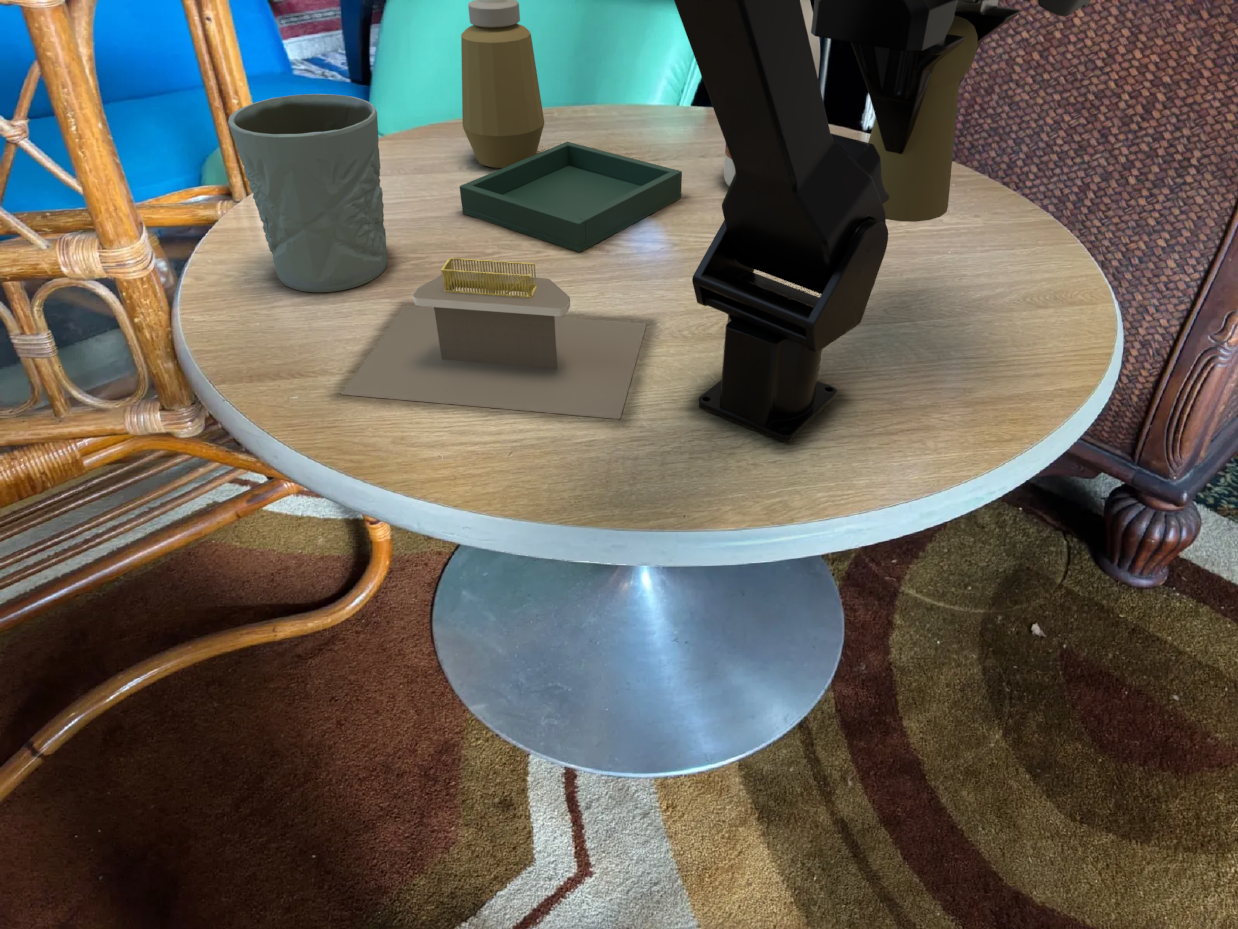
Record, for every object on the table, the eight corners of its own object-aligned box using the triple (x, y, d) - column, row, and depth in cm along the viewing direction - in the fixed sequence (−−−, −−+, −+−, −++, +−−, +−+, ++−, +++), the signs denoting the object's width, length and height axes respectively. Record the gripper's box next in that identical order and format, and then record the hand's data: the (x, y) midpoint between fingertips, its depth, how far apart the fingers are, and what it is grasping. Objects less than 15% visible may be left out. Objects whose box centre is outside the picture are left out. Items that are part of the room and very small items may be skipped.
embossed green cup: (246, 268, 71) (201, 113, 64) (354, 230, 77) (325, 83, 70) (316, 310, 66) (276, 145, 58) (427, 265, 71) (403, 109, 64)
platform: (405, 305, 66) (391, 220, 62) (646, 323, 64) (648, 236, 60) (340, 394, 57) (318, 301, 53) (619, 419, 55) (619, 324, 51)
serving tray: (580, 252, 73) (578, 223, 72) (462, 213, 80) (459, 185, 78) (681, 197, 82) (682, 170, 81) (568, 166, 89) (567, 140, 87)
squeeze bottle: (543, 174, 87) (531, -36, 76) (460, 174, 87) (436, -35, 76) (549, 146, 93) (539, -51, 82) (472, 146, 94) (451, -51, 83)
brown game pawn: (950, 225, 55) (997, 29, 48) (849, 216, 56) (881, 24, 49) (945, 189, 59) (987, 6, 53) (852, 182, 60) (881, 1, 54)
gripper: (1074, -148, 36) (980, 223, 46) (1189, -171, 47) (1093, 130, 57) (827, -159, 41) (789, 174, 51) (982, -177, 53) (927, 98, 62)
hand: (911, 142), depth 55 cm, fingers closed on brown game pawn, 4 cm apart
